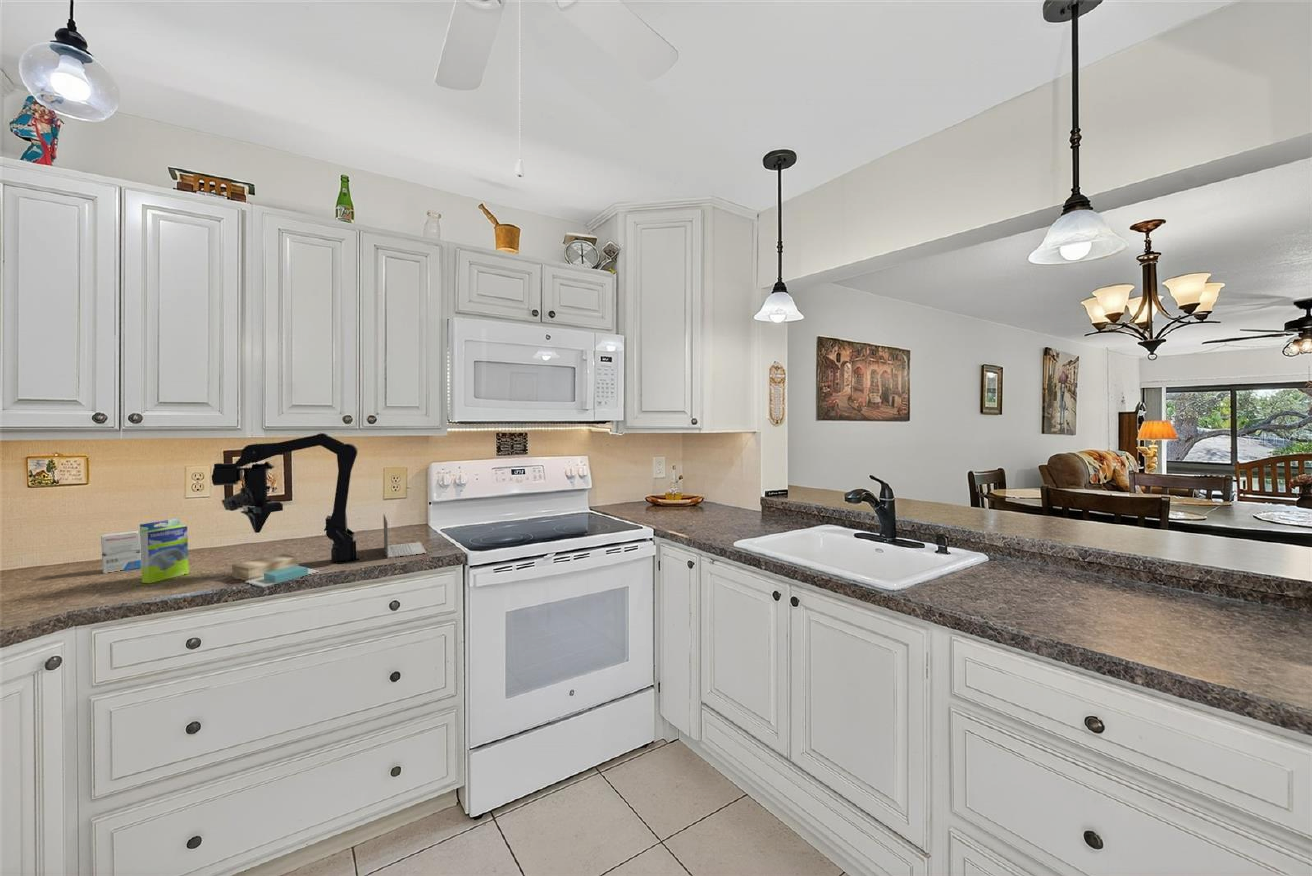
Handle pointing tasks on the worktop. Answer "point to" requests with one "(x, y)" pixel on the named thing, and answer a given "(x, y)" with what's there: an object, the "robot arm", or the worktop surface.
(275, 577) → the teal rectangular block
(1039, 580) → the worktop surface
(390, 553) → the laptop
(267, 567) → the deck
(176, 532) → the box
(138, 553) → the ink box
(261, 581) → the mat
